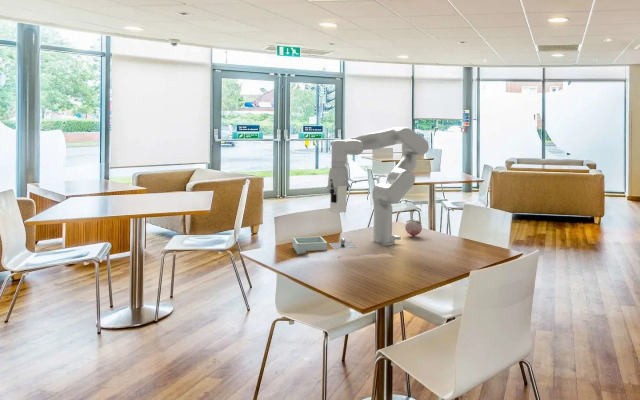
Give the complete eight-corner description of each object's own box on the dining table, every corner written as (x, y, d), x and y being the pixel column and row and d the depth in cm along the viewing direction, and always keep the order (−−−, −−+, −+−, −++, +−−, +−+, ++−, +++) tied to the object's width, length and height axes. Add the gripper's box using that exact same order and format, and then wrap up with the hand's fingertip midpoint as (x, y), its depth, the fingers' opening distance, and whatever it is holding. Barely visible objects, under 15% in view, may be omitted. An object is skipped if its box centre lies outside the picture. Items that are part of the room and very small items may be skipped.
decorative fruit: (423, 235, 283) (424, 218, 281) (420, 238, 275) (420, 220, 274) (407, 234, 287) (407, 216, 285) (403, 236, 279) (403, 219, 278)
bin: (320, 245, 257) (320, 236, 257) (327, 252, 243) (327, 242, 242) (292, 247, 254) (292, 237, 254) (297, 254, 240) (297, 243, 240)
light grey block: (338, 210, 253) (338, 184, 251) (346, 211, 249) (346, 185, 247) (330, 211, 249) (330, 185, 248) (337, 212, 245) (338, 186, 243)
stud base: (351, 245, 259) (351, 235, 259) (357, 250, 248) (357, 240, 247) (328, 246, 257) (328, 236, 256) (333, 251, 245) (333, 241, 244)
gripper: (346, 164, 255) (345, 199, 257) (321, 165, 243) (320, 202, 245) (356, 165, 249) (355, 201, 251) (331, 166, 238) (330, 204, 240)
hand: (338, 201), depth 248 cm, fingers closed on light grey block, 5 cm apart
